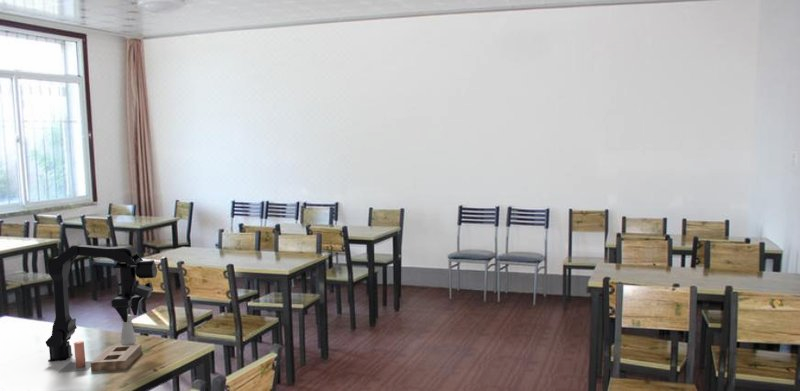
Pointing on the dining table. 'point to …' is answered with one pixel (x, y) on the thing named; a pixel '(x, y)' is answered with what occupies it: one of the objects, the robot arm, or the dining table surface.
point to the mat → (72, 367)
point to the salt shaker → (127, 332)
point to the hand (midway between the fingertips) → (130, 318)
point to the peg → (79, 354)
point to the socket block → (116, 357)
